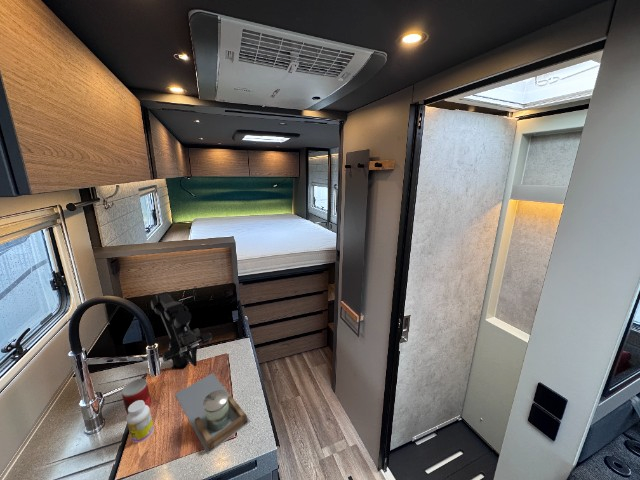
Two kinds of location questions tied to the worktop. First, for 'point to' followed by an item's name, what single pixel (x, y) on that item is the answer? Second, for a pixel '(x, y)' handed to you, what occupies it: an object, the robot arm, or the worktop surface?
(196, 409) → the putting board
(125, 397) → the canned food
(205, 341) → the robot arm
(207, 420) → the tea tin
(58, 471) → the worktop surface
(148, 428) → the supplement bottle
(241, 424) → the walnut pocket
